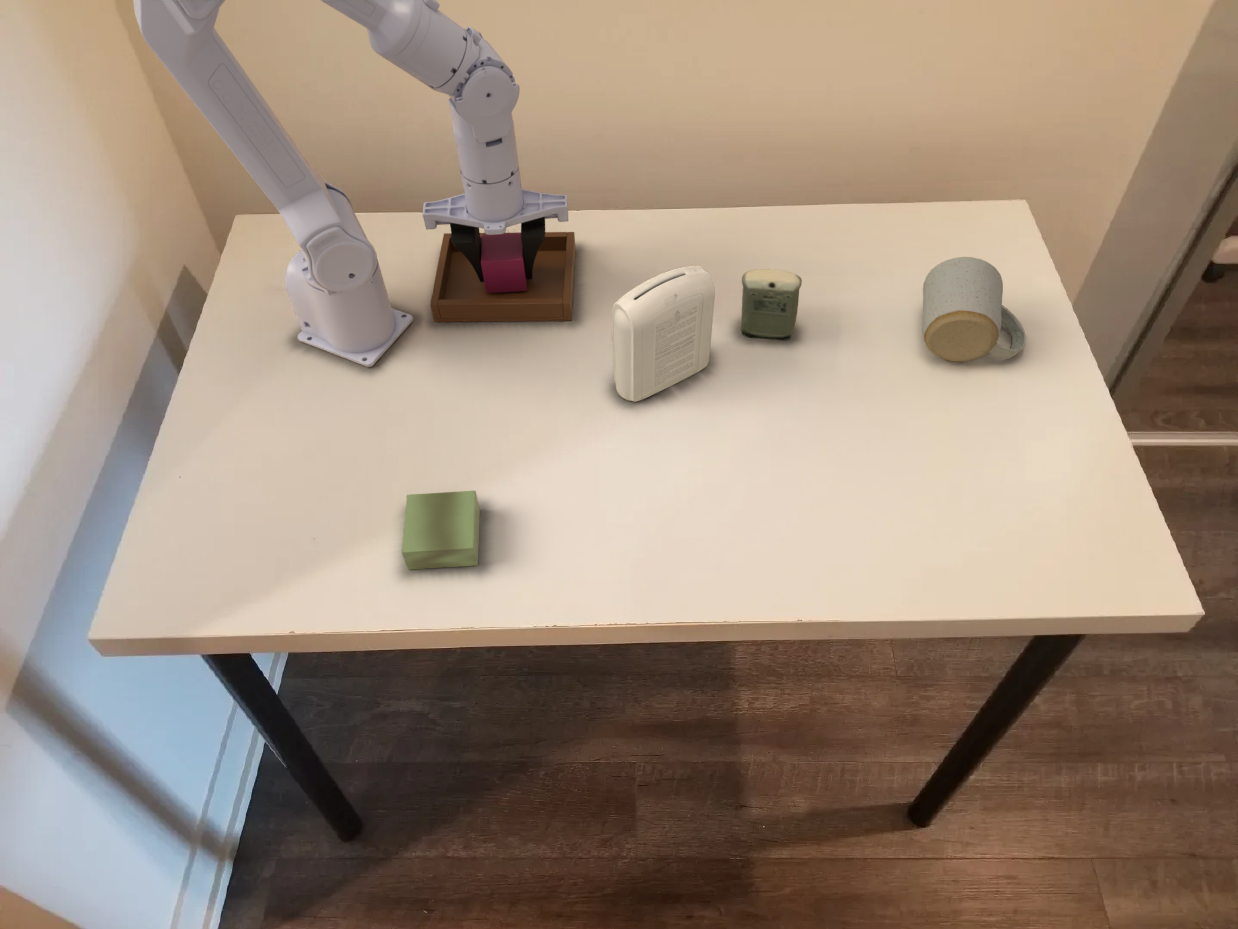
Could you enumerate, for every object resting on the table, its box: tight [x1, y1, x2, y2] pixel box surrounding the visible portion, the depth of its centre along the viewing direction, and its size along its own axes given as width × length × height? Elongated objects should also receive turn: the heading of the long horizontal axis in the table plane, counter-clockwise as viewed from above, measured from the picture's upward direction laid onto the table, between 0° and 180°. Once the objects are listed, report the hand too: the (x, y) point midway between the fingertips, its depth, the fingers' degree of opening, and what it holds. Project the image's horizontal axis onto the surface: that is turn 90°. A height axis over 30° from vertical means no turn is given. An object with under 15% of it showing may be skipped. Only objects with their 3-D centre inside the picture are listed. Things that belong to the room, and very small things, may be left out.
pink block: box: [481, 232, 527, 293], centre depth 100 cm, size 4×4×4 cm
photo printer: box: [611, 265, 716, 403], centre depth 89 cm, size 10×4×12 cm, turn 123°
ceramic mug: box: [921, 256, 1027, 363], centre depth 92 cm, size 11×8×8 cm
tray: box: [429, 231, 577, 323], centre depth 101 cm, size 15×12×2 cm
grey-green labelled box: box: [740, 268, 803, 341], centre depth 94 cm, size 6×5×8 cm
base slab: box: [401, 490, 481, 571], centre depth 81 cm, size 6×6×3 cm
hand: (505, 274), depth 101 cm, fingers closed on pink block, 4 cm apart
